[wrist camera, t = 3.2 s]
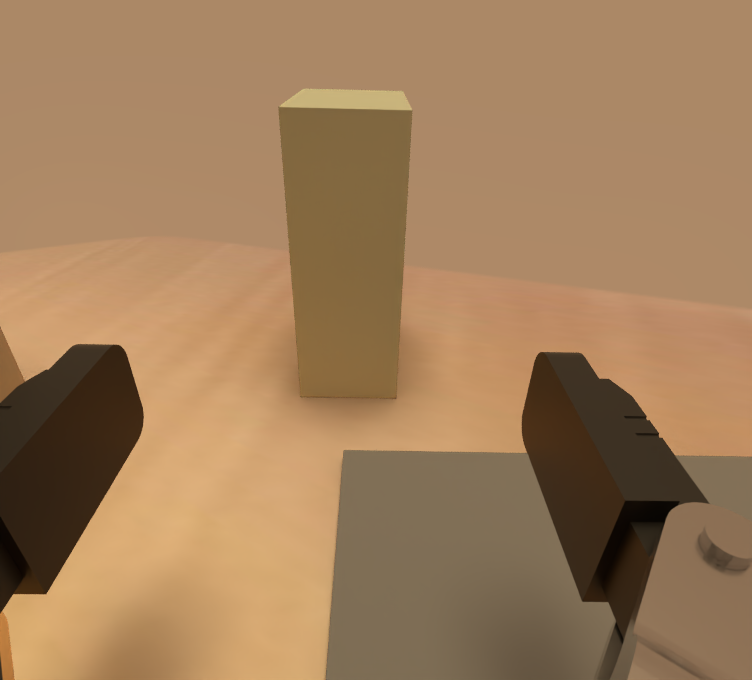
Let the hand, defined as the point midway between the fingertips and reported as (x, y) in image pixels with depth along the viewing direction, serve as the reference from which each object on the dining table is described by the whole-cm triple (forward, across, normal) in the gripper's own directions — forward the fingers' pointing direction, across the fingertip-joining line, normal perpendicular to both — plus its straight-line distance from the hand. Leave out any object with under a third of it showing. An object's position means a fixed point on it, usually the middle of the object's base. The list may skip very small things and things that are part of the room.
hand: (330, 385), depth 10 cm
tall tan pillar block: (+11, 0, +7) cm, 13 cm away
